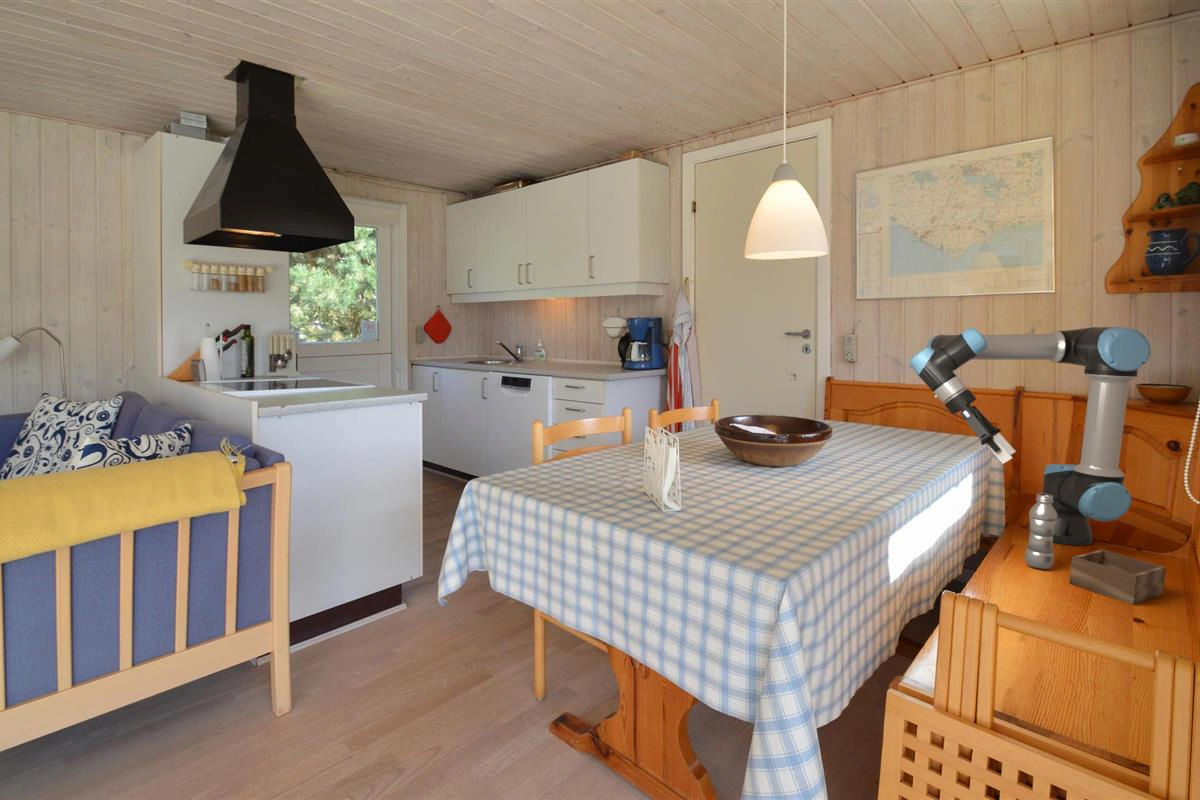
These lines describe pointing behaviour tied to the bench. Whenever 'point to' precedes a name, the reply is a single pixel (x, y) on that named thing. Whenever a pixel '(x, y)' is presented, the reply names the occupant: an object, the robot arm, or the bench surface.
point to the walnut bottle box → (1117, 576)
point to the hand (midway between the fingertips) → (1009, 457)
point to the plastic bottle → (1041, 532)
